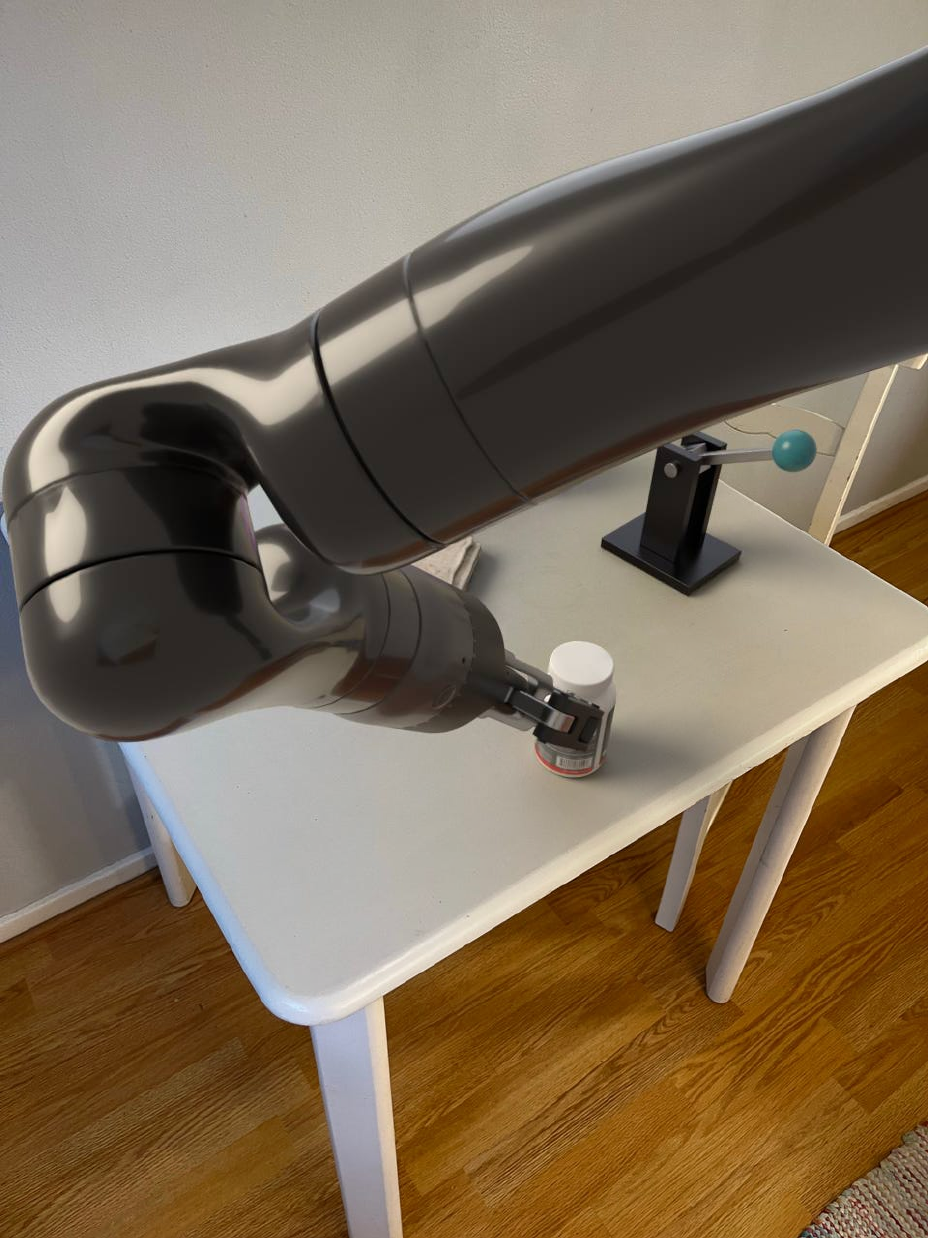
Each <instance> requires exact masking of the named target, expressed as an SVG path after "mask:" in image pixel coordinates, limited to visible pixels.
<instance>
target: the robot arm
mask: <svg viewBox="0 0 928 1238" xmlns="http://www.w3.org/2000/svg"><path fill="white" fill-rule="evenodd" d="M925 355H928V44H926V45H924V46H922V47H919V48H918V49H916V50H913V51H912V52H910V53H907V54H904V55H903V56H900V57H897V58H895V59H893V60H891V61H888V62H886V63H884V64H881V65H878V66H877V67H874V68H872V69H869V70H868V71H865V72H862V73H860V74H857V75H856V76H853V77H851V78H848V79H846V80H844V81H842V82H838V83H837V84H834V85H832V86H830V87H827V88H825V89H822V90H820V91H817V92H815V93H812V94H809V95H806V96H803V97H800V98H798V99H795V100H791V101H788V102H785V103H783V104H780V105H778V106H775V107H772V108H768V109H766V110H763V111H760V112H758V113H755V114H752V115H748V116H746V117H743V118H740V119H736V120H733V121H730V122H727V123H724V124H723V123H722V124H721V125H717V126H714V127H710V128H708V129H704V130H701V131H698V132H694V133H692V134H689V135H685V136H682V137H678V138H675V139H672V140H669V141H665V142H661V143H659V144H655V145H652V146H649V147H645V148H641V149H638V150H635V151H631V152H628V153H625V154H621V155H618V156H617V155H616V156H615V157H611V158H608V159H604V160H602V161H599V162H595V163H592V164H590V165H587V166H583V167H580V168H578V169H577V168H576V169H575V170H572V171H569V172H566V173H563V174H561V175H558V176H556V177H553V178H551V179H547V180H545V181H542V182H540V183H537V184H536V185H533V186H531V187H528V188H526V189H524V190H522V191H519V192H516V193H514V194H512V195H510V196H508V197H506V198H504V199H502V200H499V201H498V202H495V203H493V204H492V205H490V206H488V207H485V208H483V209H481V210H480V211H477V212H476V213H474V214H472V215H470V216H468V217H466V218H465V219H463V220H461V221H459V222H458V223H456V224H454V225H451V226H450V227H448V228H447V229H445V230H444V231H442V232H440V233H439V234H437V235H436V236H434V237H432V238H431V239H429V240H427V241H426V242H424V243H422V244H421V245H419V246H417V247H416V248H414V249H413V250H412V251H410V252H408V253H406V254H405V255H402V256H401V257H400V258H398V259H397V260H395V261H394V262H392V263H391V264H389V265H387V266H385V267H384V268H382V269H380V270H379V271H377V272H376V273H374V274H372V275H371V276H369V277H368V278H366V279H364V280H363V281H361V282H359V283H358V284H357V285H355V286H353V287H352V288H350V289H348V290H347V291H345V292H344V293H342V294H341V295H339V296H337V297H336V298H334V299H332V300H331V301H329V302H327V303H326V304H325V305H324V306H322V307H319V308H318V309H316V310H315V311H313V312H312V313H310V314H309V315H307V316H306V317H305V318H303V319H301V320H300V321H299V322H297V323H296V324H294V325H292V326H290V327H289V328H287V329H283V330H280V331H279V332H276V333H272V334H269V335H266V336H262V337H259V338H255V339H251V340H246V341H243V342H240V343H236V344H232V345H228V346H224V347H221V348H217V349H213V350H209V351H206V352H203V353H200V354H196V355H193V356H189V357H186V358H183V359H180V360H176V361H172V362H168V363H164V364H161V365H158V366H153V367H149V368H146V369H142V370H138V371H134V372H130V373H126V374H122V375H118V376H114V377H110V378H107V379H104V380H103V379H102V380H98V381H95V382H92V383H88V384H86V385H83V386H80V387H77V388H74V389H72V390H69V391H68V392H66V393H64V394H62V395H60V396H59V397H57V398H55V399H54V400H53V401H51V402H50V403H48V404H47V405H46V406H44V407H43V408H42V409H41V410H40V411H39V412H38V413H37V414H36V415H35V416H34V417H33V418H32V419H31V420H30V421H29V422H28V424H27V425H26V426H25V428H24V429H23V430H22V431H21V433H20V434H19V436H18V437H17V439H16V440H15V442H14V444H13V446H12V447H11V449H10V451H9V454H8V455H7V458H6V461H5V465H4V469H3V473H2V484H1V485H2V486H1V495H2V496H1V497H2V498H1V499H2V506H3V514H4V520H5V527H6V534H7V541H8V542H7V543H8V548H9V555H10V562H11V569H12V577H13V582H14V589H15V596H16V597H15V598H16V603H17V611H18V617H19V630H20V638H21V644H22V653H23V657H24V663H25V668H26V674H27V676H28V679H29V682H30V685H31V687H32V690H34V692H35V694H36V696H37V697H38V699H39V701H40V702H41V703H42V704H43V706H45V707H46V709H47V710H48V711H49V712H50V713H51V714H53V715H54V716H55V717H56V718H57V719H59V720H60V721H62V722H63V723H64V724H66V725H67V726H69V727H71V728H73V729H74V730H76V731H77V732H80V733H82V734H84V735H87V736H90V737H92V738H95V739H98V740H102V741H105V742H106V741H107V742H113V743H140V742H150V741H154V740H160V739H163V738H169V737H171V736H176V735H180V734H183V733H187V732H190V731H192V730H196V729H198V728H202V727H205V726H207V725H210V724H213V723H215V722H218V721H221V720H224V719H226V718H229V717H233V716H235V715H239V714H243V713H246V712H251V711H256V710H263V709H270V708H271V709H273V708H278V707H279V708H281V707H291V708H296V709H301V710H307V711H314V712H320V713H327V714H332V715H334V716H336V717H339V718H341V719H344V720H346V721H350V722H353V723H357V724H361V725H367V726H368V725H369V726H375V727H381V728H389V729H393V730H395V729H396V730H402V731H408V732H416V733H422V734H443V733H444V734H445V733H448V732H452V731H455V730H458V729H461V728H463V727H465V726H466V725H467V724H470V723H471V722H472V721H474V720H475V719H482V720H483V719H486V718H490V719H492V720H494V721H497V722H500V723H502V724H504V725H507V726H508V727H512V728H514V729H516V730H519V731H521V732H529V731H530V730H531V729H532V728H534V729H533V731H532V732H531V733H532V735H533V736H534V737H535V736H536V737H537V738H538V739H537V740H538V741H540V742H542V743H544V744H546V743H549V744H552V745H557V746H561V747H566V748H570V749H574V750H577V751H579V750H580V751H584V752H586V750H587V748H588V746H589V743H590V742H591V740H592V738H593V735H594V733H595V731H596V729H597V727H598V725H599V723H600V721H601V720H600V719H602V717H603V715H604V713H605V712H604V711H602V710H600V709H599V708H600V706H598V705H596V704H594V703H592V704H591V705H590V704H588V701H586V700H584V699H582V698H580V697H578V696H575V693H574V692H572V691H569V690H567V692H566V691H564V690H562V689H559V688H557V687H555V686H553V679H552V677H551V676H550V675H548V674H547V673H548V672H545V671H543V670H541V669H540V668H538V667H535V666H533V665H531V664H529V663H526V662H524V661H523V660H520V659H517V657H516V655H515V653H514V652H512V651H510V650H508V649H506V647H505V641H504V637H503V633H502V630H501V628H500V626H499V623H498V621H497V620H496V618H495V616H494V614H493V613H492V612H491V610H490V609H489V608H488V607H487V605H485V604H484V603H483V601H481V600H480V599H479V598H477V597H476V596H475V595H473V594H470V593H469V592H468V591H463V590H461V589H459V588H457V587H455V586H453V585H451V584H449V583H447V582H445V581H443V580H441V579H439V578H437V577H435V576H433V575H432V574H430V573H428V572H426V571H424V570H422V569H420V568H418V567H416V566H414V565H411V564H413V563H415V562H417V561H419V560H422V559H424V558H426V557H428V556H430V555H432V554H434V553H437V552H439V551H441V550H443V549H445V548H447V547H448V546H450V545H451V544H454V543H458V542H460V541H462V540H464V539H466V538H468V537H470V536H472V537H473V536H475V535H476V534H477V535H478V533H480V532H483V531H485V530H487V529H489V528H491V527H493V526H496V525H498V524H499V523H500V524H501V523H502V522H504V521H506V520H507V519H510V518H512V517H514V516H516V515H518V514H520V513H523V512H525V511H527V510H529V509H531V508H533V507H535V506H537V505H539V504H541V503H543V502H545V501H547V500H549V499H551V498H554V497H556V496H557V495H560V494H562V493H564V492H566V491H568V490H570V489H572V488H574V487H576V486H577V485H580V484H583V483H584V482H587V481H588V480H591V479H592V478H594V477H597V476H598V475H600V474H603V473H606V471H609V470H612V469H613V468H616V467H618V466H620V465H623V464H625V463H627V462H630V461H632V460H634V459H636V458H639V457H641V456H643V455H645V454H647V453H650V452H652V451H654V450H657V448H659V447H661V446H664V445H666V444H668V443H673V442H676V441H678V440H682V438H684V437H686V436H689V435H691V434H694V433H696V432H699V431H700V432H702V431H704V430H706V429H708V428H711V427H714V426H717V425H719V424H721V423H724V422H727V421H728V420H732V419H734V418H737V417H740V416H742V415H745V414H748V413H751V412H753V411H756V410H759V409H762V408H764V407H767V406H770V405H773V404H775V403H778V402H781V401H784V400H786V399H789V398H793V397H795V396H798V395H801V394H804V393H805V394H806V393H808V392H811V391H814V390H817V389H820V388H823V387H825V386H829V385H833V384H835V383H838V382H841V381H844V380H847V379H851V378H854V377H857V376H861V375H864V374H867V373H870V372H873V371H876V370H879V369H882V368H886V367H889V366H892V365H896V364H899V363H902V362H905V361H909V360H911V359H915V358H918V357H921V356H925ZM259 486H260V487H261V489H262V491H263V492H264V494H265V495H266V497H267V499H268V500H269V502H270V503H271V505H272V507H273V508H274V510H275V512H276V513H277V515H278V516H279V518H280V520H281V521H282V522H279V523H274V524H269V525H266V526H263V527H261V528H259V529H256V530H255V529H254V528H255V527H254V523H253V518H252V515H251V510H250V506H249V500H248V496H249V495H250V494H251V492H253V490H255V489H256V488H257V487H259ZM520 673H522V674H524V675H526V676H527V677H524V676H522V674H520ZM548 695H551V696H550V698H549V700H548V702H546V701H544V699H545V698H546V696H548Z"/></svg>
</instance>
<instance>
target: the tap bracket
mask: <svg viewBox="0 0 928 1238" xmlns="http://www.w3.org/2000/svg"><path fill="white" fill-rule="evenodd" d="M701 443H705V444H706V448H707V452H711V451H722V450H727V448H728V443H727V442H726V441H723V440H720V439H718V438H716V437H715V436H711V435H710V434H707V433H705V432H702V431H699V432H696V433H694V434H691V435H689V436H686V437H684V438H681V439H680V445H679V446H678V445H676V444H674V443H673V442H671V443H668V444H666V445H664V446H661V447H659V448H657V449H656V453H655V459H654V464H653V469H652V474H651V480H650V485H649V490H648V496H647V500H646V501H647V502H646V507H645V512H643V513H641V514H639V515H638V516H636V517H635V518H633V519H631V520H629V521H627V522H626V523H624V524H623V525H621V526H619V527H618V528H616V529H614V530H612V531H611V532H609V533H607V534H606V535H604V536H602V537H601V541H600V548H601V549H603V550H604V551H607V552H609V553H610V554H611V555H614V556H615V557H617V558H619V559H621V560H622V561H624V562H626V563H628V564H629V565H632V566H633V567H634V568H637V569H638V570H640V571H642V572H643V573H645V574H647V575H649V576H651V577H652V578H654V579H656V580H657V581H659V582H661V583H662V584H664V585H666V586H668V587H670V588H671V589H672V590H675V591H677V592H678V593H681V594H682V595H684V596H686V597H689V596H690V595H692V594H693V593H695V592H696V591H697V590H699V589H700V588H701V587H703V586H704V585H706V584H707V583H708V582H709V583H710V581H712V580H713V579H715V578H716V577H718V576H719V575H720V574H722V573H723V572H724V571H726V570H727V569H729V568H730V567H732V566H733V565H735V564H736V563H737V562H738V561H740V559H741V555H742V550H741V549H740V548H737V547H735V546H733V545H732V544H729V542H728V543H727V542H726V541H724V540H722V539H720V538H718V537H716V536H714V535H712V534H710V533H708V532H707V530H708V526H709V523H710V518H711V513H712V510H713V506H714V502H715V497H716V494H717V489H718V484H719V481H720V476H721V471H722V468H723V464H717V465H710V466H711V467H710V468H708V469H707V470H705V471H703V472H702V473H700V474H699V472H700V468H701V463H702V459H703V458H702V457H700V456H698V455H696V454H693V453H691V452H689V451H687V450H685V449H683V448H680V446H682V445H691V444H701Z"/></svg>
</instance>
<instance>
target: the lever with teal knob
mask: <svg viewBox="0 0 928 1238" xmlns="http://www.w3.org/2000/svg"><path fill="white" fill-rule="evenodd" d="M679 447H680V448H683V449H685V450H687V451H689V452H691V453H693V454H696V455H698V456H700V457H702V458H703V459H702V463H701V468H700V472H699V474H700V473H702V472H703V471H705V470H707V469H708V468H710V467H711V466H710V465H717V464H722V465H726V464H727V465H729V464H741V463H753V462H765V461H767V462H768V461H773V462H774V464H775V466H777V467H778V469H780V470H782V471H784V472H788V473H799V472H802V471H805V470H806V469H808V468H809V467H810V465H812V464H813V462H814V461H815V459H816V456H817V452H818V447H817V444H816V440H815V439H814V437H813V436H812V435H811V434H810V433H808V432H807V431H805V430H801V429H790V430H787V431H784V432H783V433H781V434H780V435H779V436H778V437H777V438H776V439H775V440H774V443H773V444H772V445H766V446H755V447H746V448H744V447H743V448H734V449H726V450H722V451H711V452H707V448H706V444H705V443H701V444H691V445H682V446H680V445H679Z"/></svg>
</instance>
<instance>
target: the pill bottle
mask: <svg viewBox="0 0 928 1238" xmlns="http://www.w3.org/2000/svg"><path fill="white" fill-rule="evenodd" d="M547 667H548V668H547V672H546V673H547V674H548V675H550V676H551V677H552V679H553V686H555V687H557V688H559V689H562V690H564V691H566V692H567V690H569V691H572V692H574V693H575V696H578V697H580V698H582V699H584V700H586V701H588V704H590V705H591V704H592V703H594V704H596V705H598V706H600V708H599V709H600V710H602V711H604V712H605V713H604V715H603V717H602V719H600V720H601V721H600V723H599V725H598V727H597V729H596V731H595V733H594V735H593V738H592V740H591V742H590V743H589V746H588V748H587V750H586V752H584V751H580V750H579V751H577V750H574V749H570V748H566V747H561V746H557V745H552V744H549V743H546V744H544V743H542V742H540V741H538V740H537V739H538V738H537V737H536V736H534V752H535V756H536V757H537V760H538V761H539V762H540V764H541V765H542V766H543V767H544V768H545V769H547V770H548V771H550V772H552V773H553V774H555V775H558V776H560V777H565V778H580V777H581V778H582V777H586V776H588V775H590V774H593V773H594V772H596V771H597V770H598V769H599V768H600V767H601V766H602V765H603V763H604V761H605V759H606V755H607V751H608V745H609V740H610V734H611V728H612V723H613V719H614V713H615V708H616V702H617V689H616V685H615V682H614V681H613V677H614V670H615V663H614V660H613V657H612V656H611V654H610V653H609V652H608V651H607V650H606V649H604V648H603V647H602V646H600V645H598V644H595V643H592V642H590V641H584V640H583V641H582V640H574V641H568V642H565V643H562V644H560V645H558V646H557V647H556V648H555V649H554V650H553V651H552V653H551V655H550V659H549V664H548V666H547ZM550 696H551V695H548V696H546V698H545V699H544V701H546V702H548V700H549V698H550Z"/></svg>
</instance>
